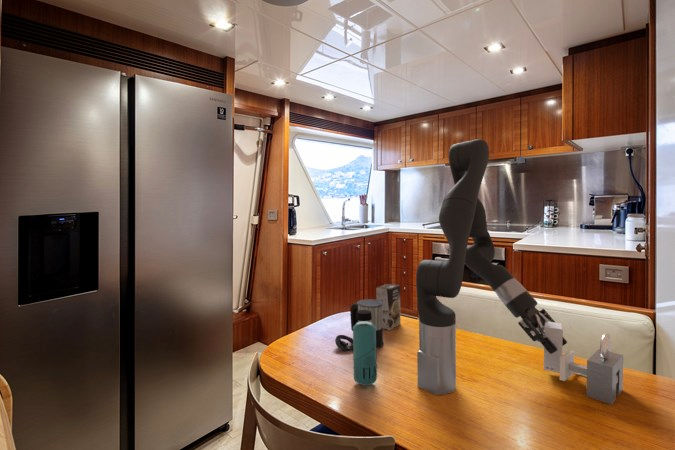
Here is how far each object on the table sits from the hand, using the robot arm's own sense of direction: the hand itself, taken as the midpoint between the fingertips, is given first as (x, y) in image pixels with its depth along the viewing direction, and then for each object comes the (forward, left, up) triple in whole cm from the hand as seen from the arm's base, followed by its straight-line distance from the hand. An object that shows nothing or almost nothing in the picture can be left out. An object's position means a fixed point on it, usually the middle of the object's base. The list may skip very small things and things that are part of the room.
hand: (559, 348), depth 93 cm
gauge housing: (+1, -5, -8) cm, 10 cm away
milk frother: (-25, +52, -9) cm, 59 cm away
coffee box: (-3, +59, -9) cm, 60 cm away
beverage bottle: (-42, +32, -9) cm, 54 cm away
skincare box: (0, +2, -6) cm, 6 cm away
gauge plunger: (+2, -7, -8) cm, 10 cm away
